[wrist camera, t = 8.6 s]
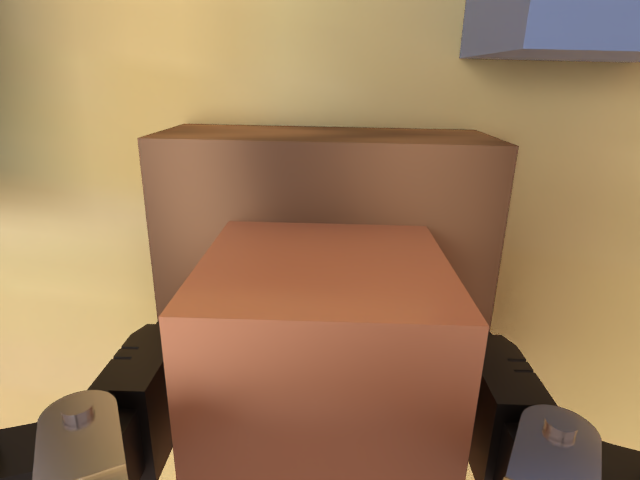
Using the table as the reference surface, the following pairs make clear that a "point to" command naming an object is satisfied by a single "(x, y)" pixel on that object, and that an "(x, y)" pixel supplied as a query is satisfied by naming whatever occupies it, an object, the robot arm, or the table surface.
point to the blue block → (552, 30)
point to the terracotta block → (322, 356)
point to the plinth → (327, 190)
